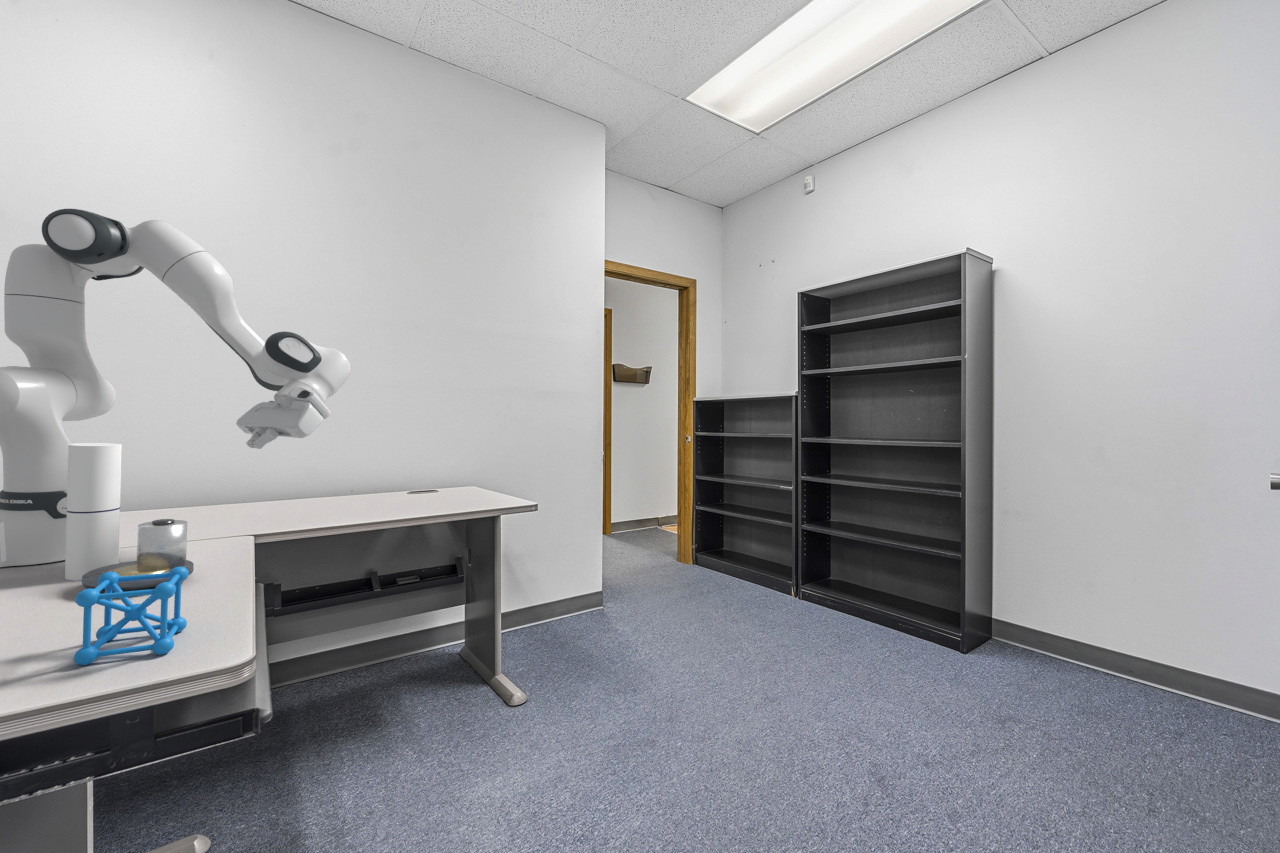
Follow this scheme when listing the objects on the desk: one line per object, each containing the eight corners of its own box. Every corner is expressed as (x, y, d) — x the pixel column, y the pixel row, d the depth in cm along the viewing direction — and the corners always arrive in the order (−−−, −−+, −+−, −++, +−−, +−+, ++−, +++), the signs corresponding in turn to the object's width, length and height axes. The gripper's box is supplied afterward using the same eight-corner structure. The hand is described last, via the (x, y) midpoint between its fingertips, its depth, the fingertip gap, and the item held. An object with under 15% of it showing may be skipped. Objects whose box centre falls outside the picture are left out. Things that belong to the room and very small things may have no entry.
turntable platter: (56, 585, 92) (57, 578, 92) (147, 561, 107) (147, 555, 107) (132, 594, 90) (132, 586, 90) (213, 568, 105) (214, 562, 105)
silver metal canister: (126, 569, 99) (127, 522, 99) (164, 559, 106) (165, 515, 106) (159, 572, 98) (160, 526, 98) (195, 562, 105) (197, 518, 105)
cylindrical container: (56, 582, 98) (60, 445, 97) (75, 570, 104) (78, 442, 103) (109, 578, 101) (113, 446, 100) (124, 567, 107) (128, 443, 107)
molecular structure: (171, 656, 74) (174, 584, 73) (69, 670, 69) (72, 592, 68) (188, 628, 82) (190, 563, 82) (99, 639, 77) (101, 570, 77)
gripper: (257, 391, 126) (210, 433, 118) (319, 394, 119) (274, 439, 110) (275, 410, 131) (232, 452, 122) (336, 414, 123) (294, 459, 115)
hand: (252, 446), depth 116 cm, fingers closed
